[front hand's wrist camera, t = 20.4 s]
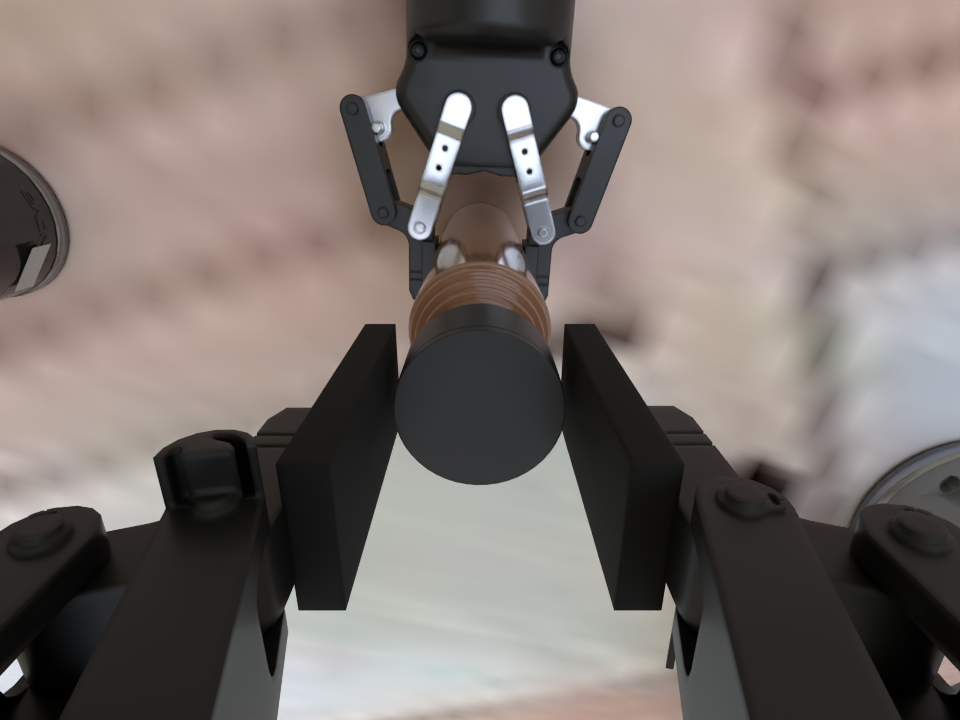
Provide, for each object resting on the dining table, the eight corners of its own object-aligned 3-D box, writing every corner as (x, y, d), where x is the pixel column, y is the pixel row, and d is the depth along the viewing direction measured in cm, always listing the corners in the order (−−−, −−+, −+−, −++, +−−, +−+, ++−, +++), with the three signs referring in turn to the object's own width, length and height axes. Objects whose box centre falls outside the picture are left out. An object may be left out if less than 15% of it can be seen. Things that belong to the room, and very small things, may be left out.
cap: (415, 444, 15) (405, 491, 13) (395, 309, 14) (380, 338, 11) (556, 433, 15) (568, 478, 13) (550, 296, 13) (563, 322, 11)
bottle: (527, 256, 35) (605, 437, 13) (464, 287, 35) (439, 507, 14) (496, 189, 33) (527, 270, 12) (431, 223, 34) (345, 358, 12)
